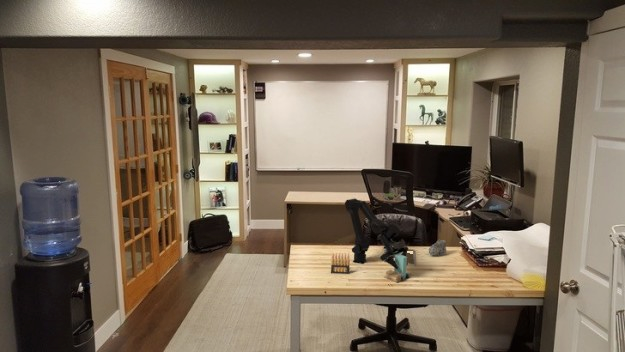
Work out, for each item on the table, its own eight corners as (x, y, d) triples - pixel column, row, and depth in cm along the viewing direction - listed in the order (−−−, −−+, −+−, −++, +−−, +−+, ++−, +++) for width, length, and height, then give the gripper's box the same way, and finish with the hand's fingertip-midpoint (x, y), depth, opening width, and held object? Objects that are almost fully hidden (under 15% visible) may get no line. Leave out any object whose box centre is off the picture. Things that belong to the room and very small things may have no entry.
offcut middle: (384, 275, 239) (384, 273, 239) (389, 273, 242) (389, 271, 242) (396, 279, 233) (396, 277, 233) (400, 278, 236) (401, 275, 236)
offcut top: (385, 273, 238) (386, 271, 238) (390, 271, 241) (390, 269, 241) (397, 278, 232) (397, 276, 232) (402, 276, 235) (402, 274, 235)
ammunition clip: (349, 272, 248) (350, 253, 246) (349, 274, 246) (350, 254, 244) (330, 272, 249) (331, 252, 246) (330, 273, 247) (331, 253, 245)
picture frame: (383, 262, 262) (385, 245, 291) (383, 264, 262) (385, 248, 291) (415, 264, 258) (414, 248, 287) (415, 267, 258) (414, 250, 287)
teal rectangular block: (394, 275, 242) (394, 255, 240) (397, 274, 244) (398, 253, 242) (402, 278, 238) (403, 258, 236) (405, 277, 240) (407, 256, 237)
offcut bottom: (385, 277, 239) (385, 275, 239) (390, 275, 242) (390, 273, 241) (396, 282, 233) (396, 280, 233) (401, 280, 236) (401, 278, 235)
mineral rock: (428, 257, 273) (429, 242, 272) (424, 251, 284) (425, 236, 282) (449, 257, 273) (450, 242, 272) (444, 251, 284) (445, 237, 282)
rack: (383, 278, 240) (383, 273, 239) (396, 273, 247) (396, 268, 246) (397, 284, 232) (397, 279, 232) (410, 279, 239) (411, 274, 239)
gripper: (385, 238, 234) (400, 264, 228) (406, 232, 246) (421, 256, 239) (373, 248, 241) (388, 273, 235) (395, 241, 253) (409, 265, 247)
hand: (402, 266), depth 239 cm, fingers open, 8 cm apart
